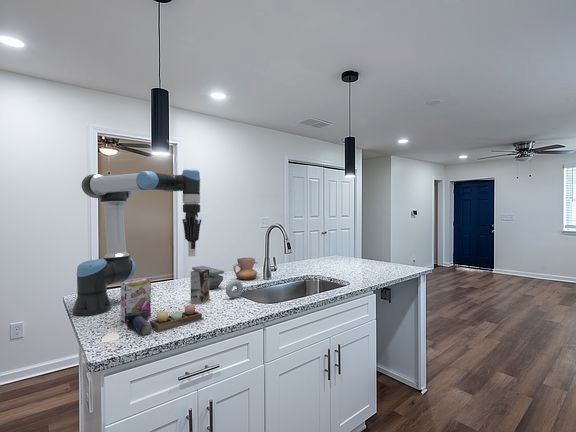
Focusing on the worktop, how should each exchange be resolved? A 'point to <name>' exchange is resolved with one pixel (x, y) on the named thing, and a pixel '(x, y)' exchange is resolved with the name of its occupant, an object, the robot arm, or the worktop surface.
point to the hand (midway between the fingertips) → (191, 255)
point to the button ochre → (162, 316)
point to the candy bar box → (135, 297)
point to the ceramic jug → (245, 268)
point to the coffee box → (199, 286)
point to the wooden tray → (175, 322)
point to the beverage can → (139, 322)
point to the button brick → (189, 309)
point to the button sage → (176, 316)
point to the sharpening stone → (212, 276)
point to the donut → (238, 290)
